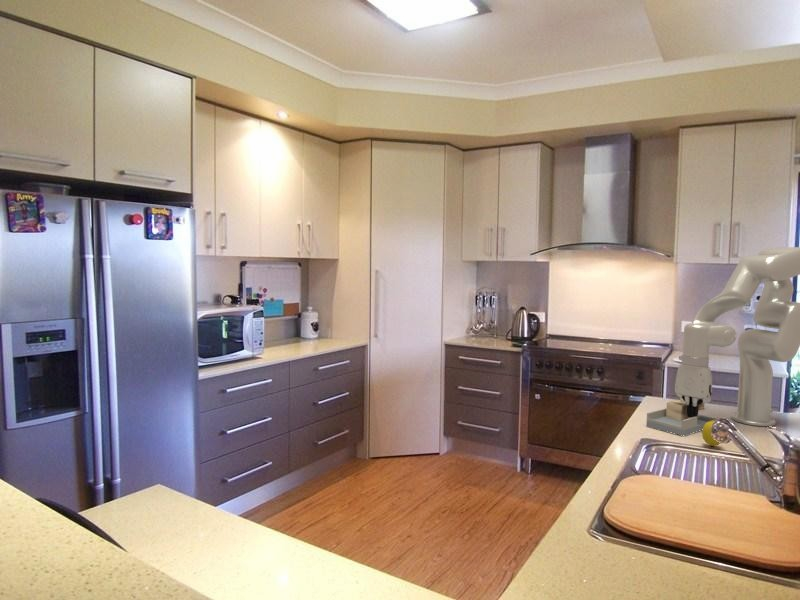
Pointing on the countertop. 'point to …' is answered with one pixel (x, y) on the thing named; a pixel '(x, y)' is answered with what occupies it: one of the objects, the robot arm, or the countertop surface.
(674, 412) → the block
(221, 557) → the countertop surface
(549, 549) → the countertop surface
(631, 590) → the countertop surface
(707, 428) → the lemon
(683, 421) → the pale blue tray
